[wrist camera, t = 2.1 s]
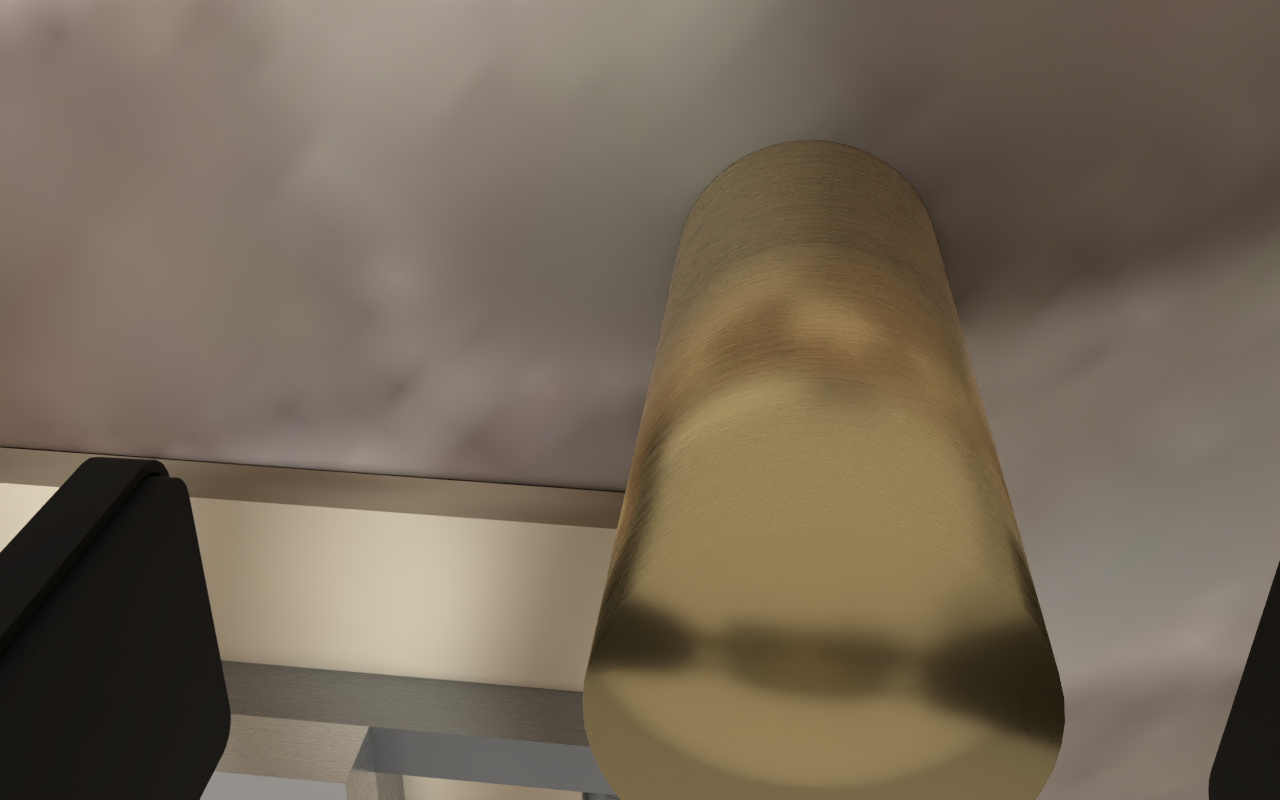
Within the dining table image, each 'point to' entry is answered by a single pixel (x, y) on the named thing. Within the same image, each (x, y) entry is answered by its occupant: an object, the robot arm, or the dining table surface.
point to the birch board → (384, 575)
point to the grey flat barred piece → (294, 761)
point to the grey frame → (434, 725)
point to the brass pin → (817, 519)
